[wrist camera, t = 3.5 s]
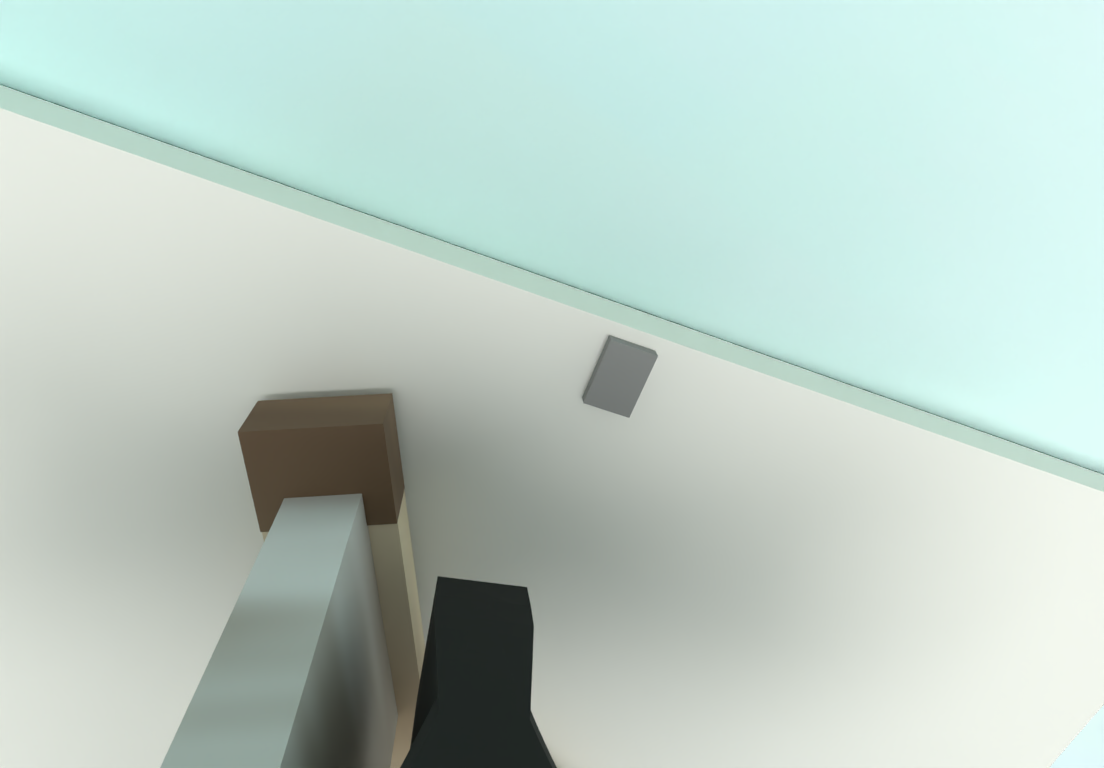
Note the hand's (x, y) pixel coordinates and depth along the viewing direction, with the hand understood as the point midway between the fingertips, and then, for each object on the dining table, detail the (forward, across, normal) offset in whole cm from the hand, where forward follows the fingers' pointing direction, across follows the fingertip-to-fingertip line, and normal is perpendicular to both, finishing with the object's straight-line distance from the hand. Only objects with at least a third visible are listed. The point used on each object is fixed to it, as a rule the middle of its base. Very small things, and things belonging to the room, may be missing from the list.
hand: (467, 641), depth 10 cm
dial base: (+3, 0, +7) cm, 8 cm away
